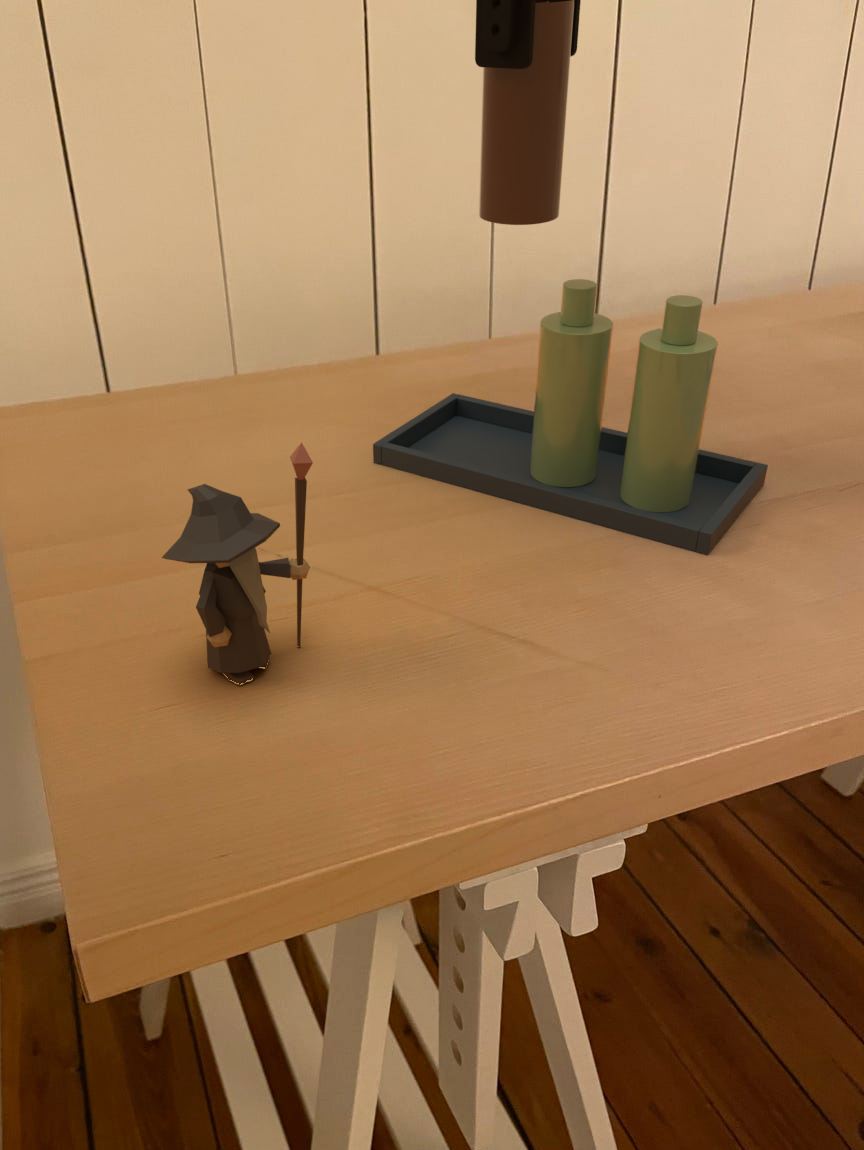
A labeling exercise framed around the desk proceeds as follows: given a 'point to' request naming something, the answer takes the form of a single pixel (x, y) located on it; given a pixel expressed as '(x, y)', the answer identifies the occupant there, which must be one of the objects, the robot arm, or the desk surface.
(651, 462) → the green bottle
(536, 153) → the brown bottle
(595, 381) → the green bottle
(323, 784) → the desk surface
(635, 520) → the tray
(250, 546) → the wizard figurine
